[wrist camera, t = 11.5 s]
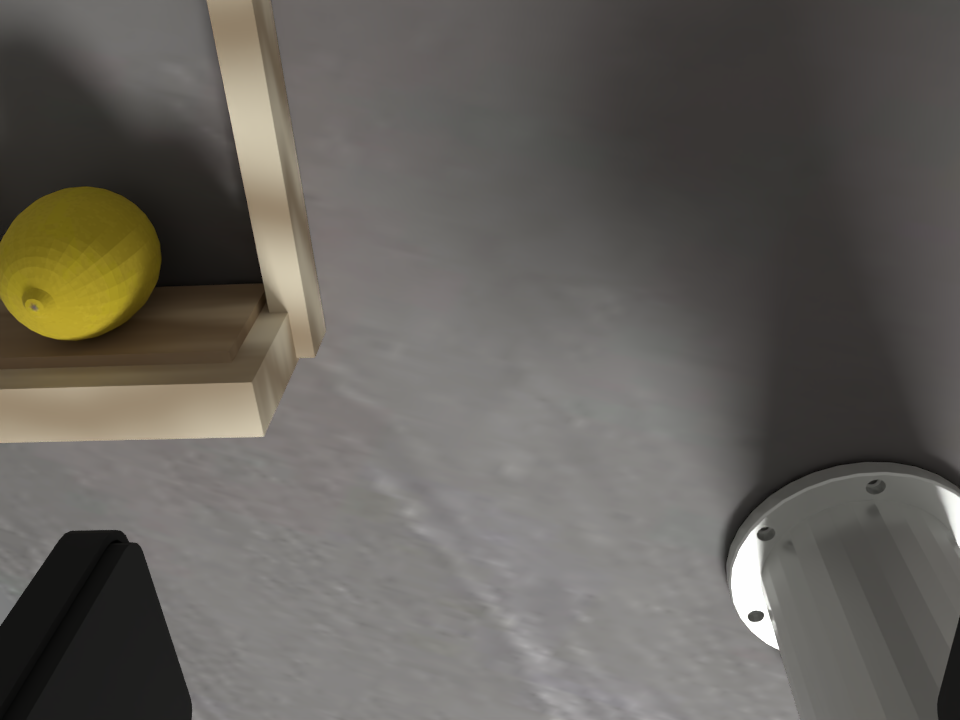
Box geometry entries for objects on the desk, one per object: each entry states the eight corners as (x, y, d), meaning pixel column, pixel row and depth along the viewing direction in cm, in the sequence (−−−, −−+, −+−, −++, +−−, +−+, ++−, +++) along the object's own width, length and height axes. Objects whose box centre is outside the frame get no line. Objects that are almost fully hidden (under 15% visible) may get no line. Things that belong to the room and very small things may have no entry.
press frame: (326, 335, 41) (284, 436, 34) (-12, 345, 42) (-119, 445, 35) (202, -412, 28) (93, -494, 21) (-282, -366, 29) (-536, -428, 22)
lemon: (212, 249, 39) (143, 339, 32) (114, 301, 41) (28, 396, 34) (132, 137, 37) (39, 208, 30) (30, 196, 38) (-81, 276, 31)
